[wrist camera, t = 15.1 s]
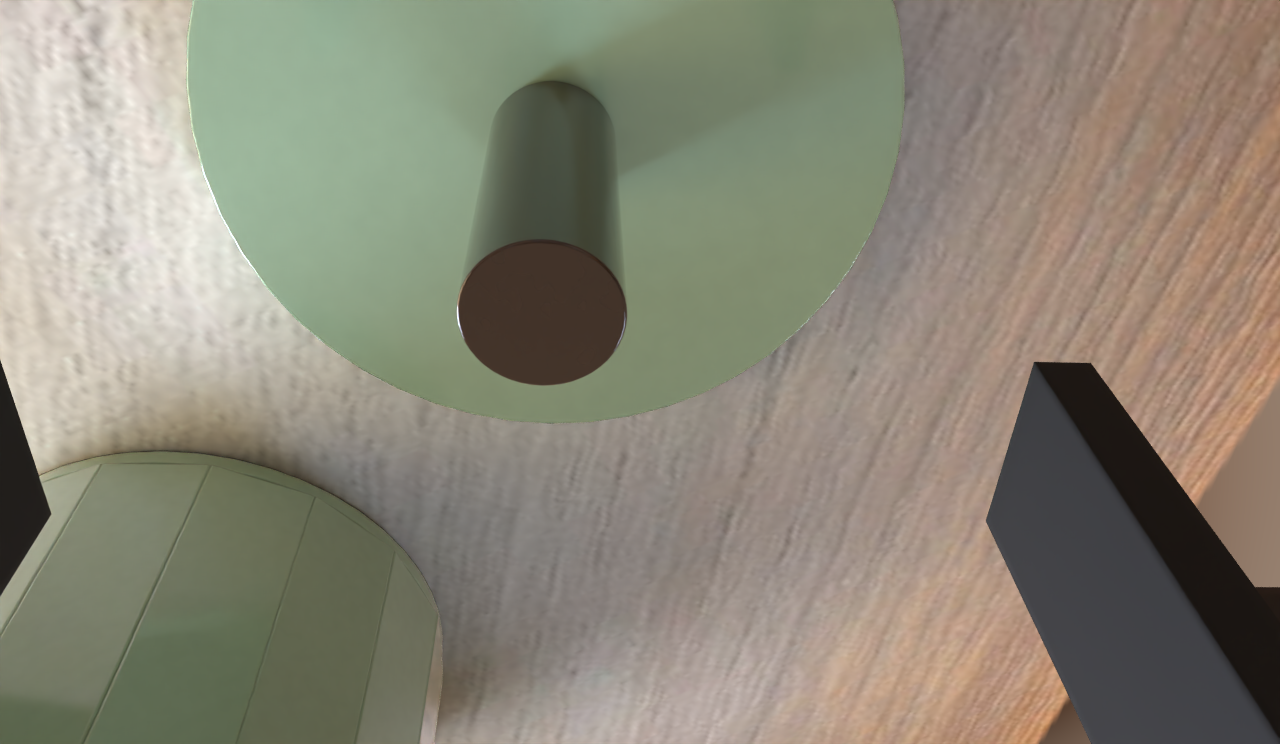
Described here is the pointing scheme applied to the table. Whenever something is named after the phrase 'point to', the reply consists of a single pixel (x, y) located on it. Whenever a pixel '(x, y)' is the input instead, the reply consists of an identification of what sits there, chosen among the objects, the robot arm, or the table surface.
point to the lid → (548, 183)
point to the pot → (213, 613)
